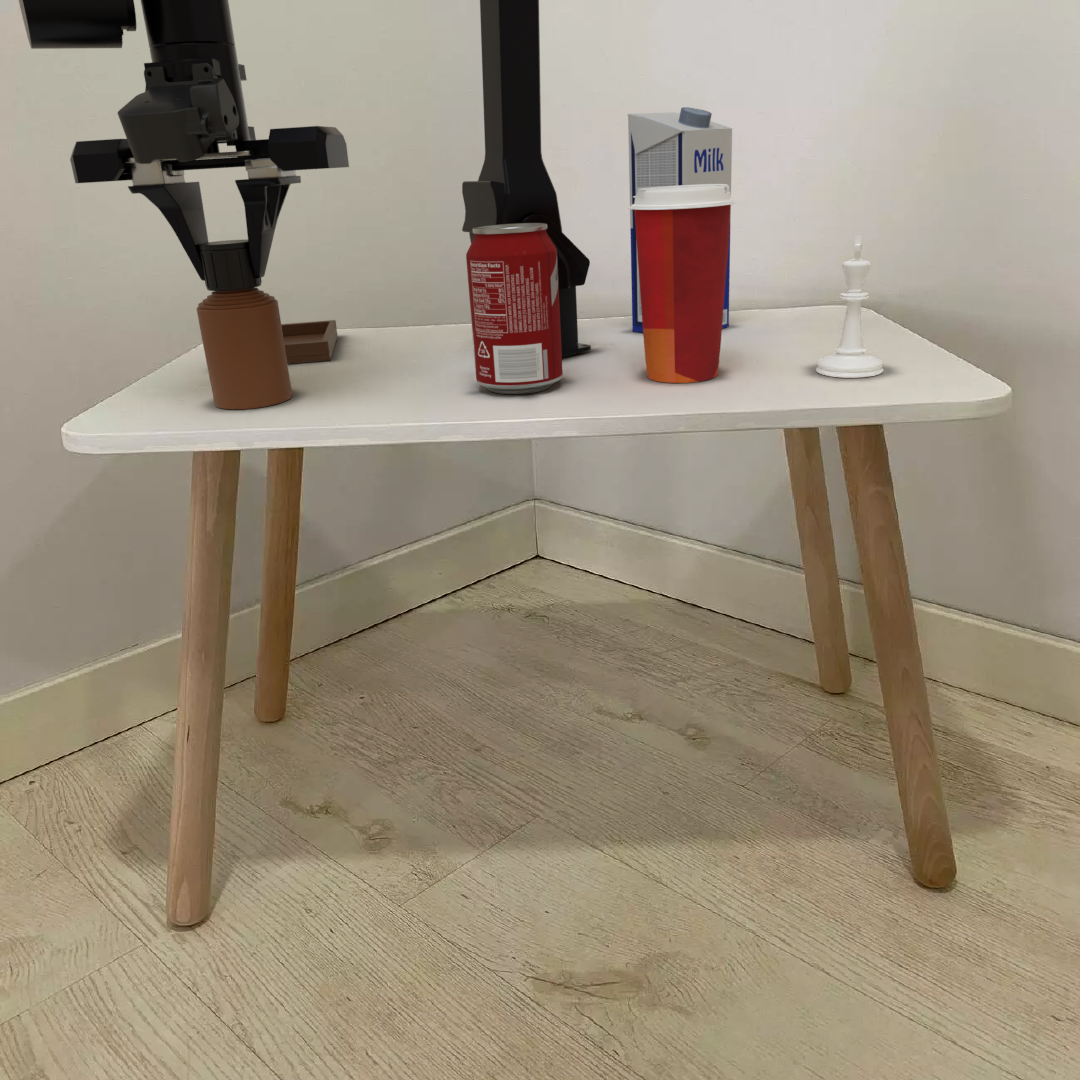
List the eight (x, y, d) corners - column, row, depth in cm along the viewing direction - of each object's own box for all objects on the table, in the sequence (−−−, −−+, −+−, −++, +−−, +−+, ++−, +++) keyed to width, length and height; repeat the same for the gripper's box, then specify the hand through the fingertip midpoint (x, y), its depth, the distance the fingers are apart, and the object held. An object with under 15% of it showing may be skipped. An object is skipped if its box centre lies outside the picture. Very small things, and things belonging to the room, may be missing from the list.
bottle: (306, 397, 75) (283, 246, 71) (236, 413, 71) (207, 255, 67) (269, 387, 79) (245, 244, 75) (201, 402, 75) (172, 252, 71)
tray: (330, 360, 89) (327, 341, 88) (218, 369, 88) (215, 350, 87) (337, 336, 101) (335, 319, 100) (239, 344, 100) (236, 327, 99)
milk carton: (677, 320, 98) (676, 109, 91) (730, 326, 94) (734, 104, 86) (630, 331, 94) (626, 111, 86) (683, 338, 89) (683, 105, 82)
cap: (269, 282, 74) (262, 238, 72) (249, 289, 70) (241, 243, 69) (220, 285, 74) (212, 241, 73) (198, 292, 70) (189, 245, 69)
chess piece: (812, 377, 72) (819, 239, 68) (819, 363, 76) (827, 232, 72) (881, 378, 70) (892, 237, 66) (885, 364, 74) (896, 231, 70)
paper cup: (738, 365, 77) (742, 181, 72) (723, 387, 70) (726, 186, 65) (644, 364, 80) (641, 186, 74) (621, 385, 73) (616, 191, 68)
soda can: (554, 397, 70) (545, 227, 66) (466, 397, 72) (452, 231, 67) (569, 376, 77) (563, 220, 72) (489, 377, 78) (477, 224, 74)
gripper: (-5, 46, 60) (57, 299, 65) (282, 24, 57) (319, 287, 63) (90, 61, 70) (135, 279, 76) (336, 43, 68) (363, 268, 74)
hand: (232, 278), depth 72 cm, fingers closed on cap, 4 cm apart
